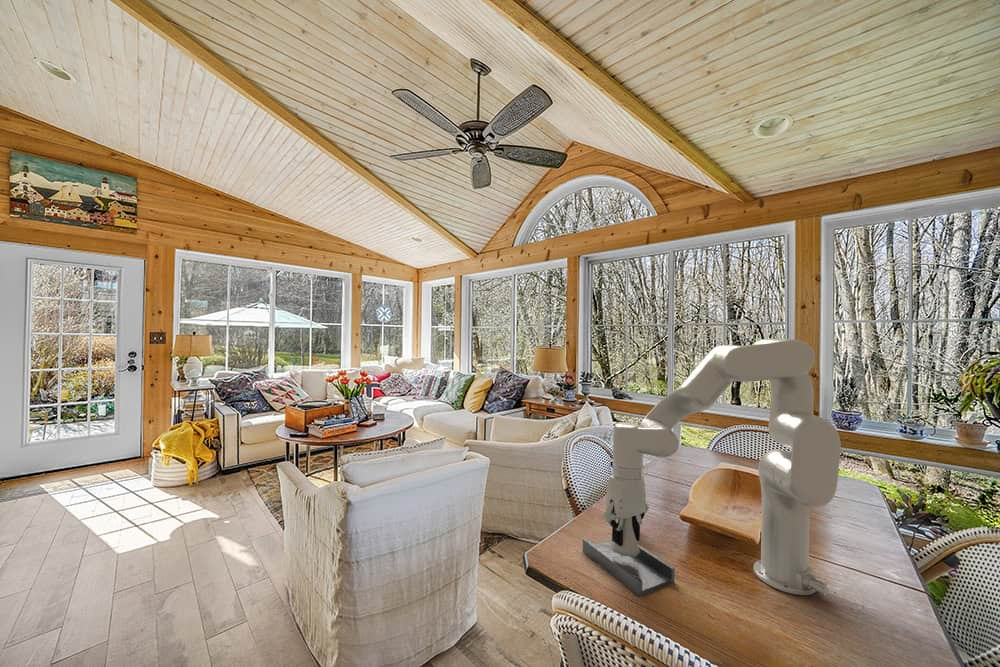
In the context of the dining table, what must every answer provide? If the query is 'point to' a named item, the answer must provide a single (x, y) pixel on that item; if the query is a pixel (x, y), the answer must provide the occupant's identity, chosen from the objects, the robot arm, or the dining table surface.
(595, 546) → the track
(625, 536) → the flask
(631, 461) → the robot arm
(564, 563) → the dining table surface
